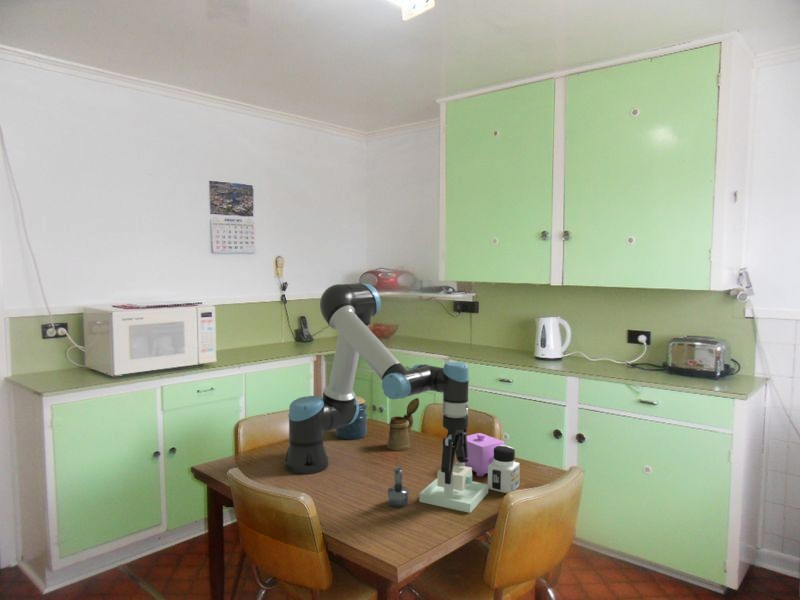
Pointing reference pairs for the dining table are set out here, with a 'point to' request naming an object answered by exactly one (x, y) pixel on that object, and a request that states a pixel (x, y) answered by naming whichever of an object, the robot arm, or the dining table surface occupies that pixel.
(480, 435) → the teapot
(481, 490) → the tray
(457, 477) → the cream square-holed block
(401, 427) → the wooden mug
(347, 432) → the canister
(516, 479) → the container
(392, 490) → the dark grey stemmed piece
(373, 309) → the robot arm
